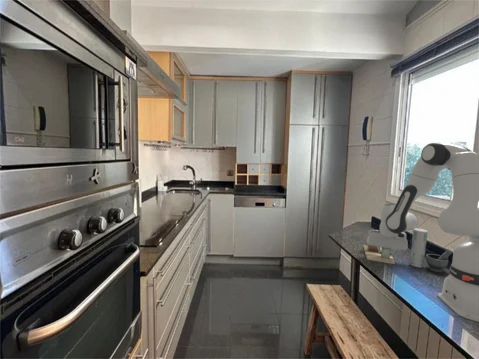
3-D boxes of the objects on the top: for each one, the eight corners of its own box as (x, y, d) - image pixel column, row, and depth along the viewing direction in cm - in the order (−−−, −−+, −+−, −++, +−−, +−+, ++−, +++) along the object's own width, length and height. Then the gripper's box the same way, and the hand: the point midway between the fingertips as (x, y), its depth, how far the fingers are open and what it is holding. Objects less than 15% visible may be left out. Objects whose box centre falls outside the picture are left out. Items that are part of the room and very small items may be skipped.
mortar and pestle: (427, 271, 137) (430, 249, 136) (421, 264, 146) (424, 243, 145) (453, 275, 133) (456, 253, 132) (446, 268, 142) (448, 247, 141)
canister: (390, 259, 148) (391, 250, 147) (381, 258, 149) (382, 248, 149) (389, 256, 152) (390, 247, 151) (380, 255, 154) (381, 246, 153)
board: (394, 264, 145) (395, 262, 145) (366, 259, 150) (367, 257, 149) (387, 250, 165) (387, 249, 165) (363, 247, 170) (363, 245, 170)
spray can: (423, 268, 140) (428, 232, 138) (409, 265, 144) (413, 230, 142) (423, 264, 146) (427, 229, 144) (409, 261, 149) (413, 227, 147)
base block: (379, 252, 158) (380, 244, 157) (368, 251, 160) (369, 243, 159) (378, 249, 163) (379, 241, 163) (367, 247, 166) (368, 240, 165)
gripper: (368, 230, 150) (366, 253, 151) (409, 235, 143) (407, 260, 144) (367, 227, 156) (365, 249, 157) (407, 232, 149) (404, 255, 150)
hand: (385, 254), depth 150 cm, fingers closed on canister, 5 cm apart
